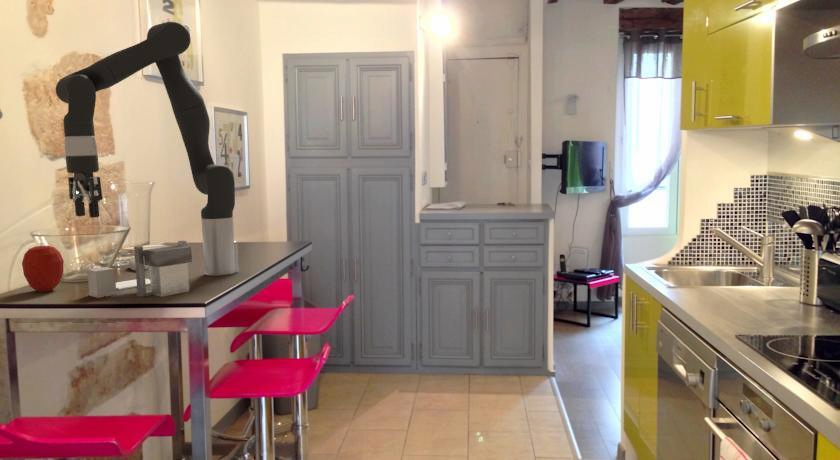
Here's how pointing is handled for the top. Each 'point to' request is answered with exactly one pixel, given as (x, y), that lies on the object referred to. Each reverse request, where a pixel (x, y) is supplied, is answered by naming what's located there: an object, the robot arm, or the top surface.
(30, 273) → the apple
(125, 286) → the mat
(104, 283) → the stone block
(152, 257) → the trapdoor
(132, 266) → the decorative stone
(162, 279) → the frame
